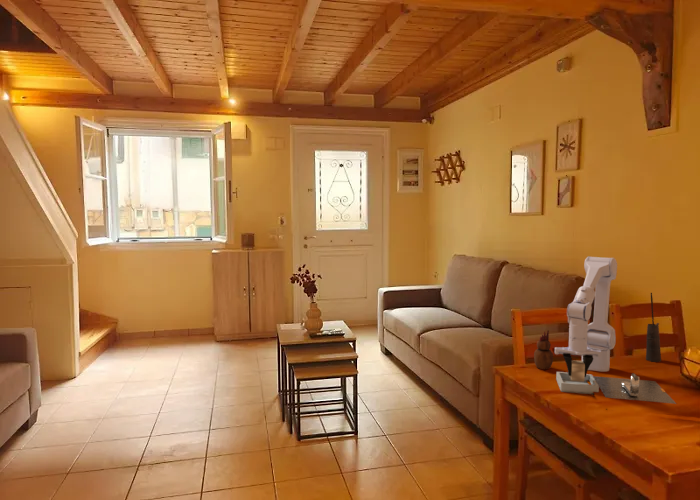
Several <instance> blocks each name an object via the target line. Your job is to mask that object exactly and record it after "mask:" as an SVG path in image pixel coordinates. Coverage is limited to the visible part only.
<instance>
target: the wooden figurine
mask: <svg viewBox="0 0 700 500" xmlns="http://www.w3.org/2000/svg"><path fill="white" fill-rule="evenodd" d="M549 332H550V330H547V332H546V331H544V332H543V334H541V336H540V337H539V340H537V341H536V349H535V350H534V353H533V360H534V364H535V367H536V368H538V369H540V370H549V369H550V368H551V367H552V365H553V363H554V354H553V352H552V350H551V342H550V340H549V339H550V338H549V335H550V334H549Z"/></svg>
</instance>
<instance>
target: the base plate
mask: <svg viewBox="0 0 700 500" xmlns="http://www.w3.org/2000/svg"><path fill="white" fill-rule="evenodd" d="M592 376H593V378H594V379H595V381H596V382H597V384H598V386H599V390H601V392H602V394H603V395H604V397H605V398H609V399H610V398H611V399H619V400H620V399H621V400H629V401H641V402H652V403H653V402H654V403H664V404H675V405H677V403H676V402H675V400H674V399H673V398H672V397H671V396H670V395H669V394H668V393H667V392H666V391H665V389H664V388H662V387H661V386H660V385H659V384H658V383H657V381H655V380H645V379H639V396H631V395H630V394H629V393H628V392H627V390H626V389H625V388H624V387H622V386H621V382H630V381H631V378H630V379H629V378H622V377H621V378H619V377H606V376H595V375H592Z"/></svg>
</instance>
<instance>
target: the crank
mask: <svg viewBox="0 0 700 500" xmlns="http://www.w3.org/2000/svg"><path fill="white" fill-rule="evenodd" d="M630 379H631V381H630V382H621V386H622V387H624V388H625V389H626V390H627V392H628V393H629V394H630V395H631V396H639V380H640V376H638V375H636V373H631V375H630Z"/></svg>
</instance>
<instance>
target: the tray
mask: <svg viewBox="0 0 700 500" xmlns="http://www.w3.org/2000/svg"><path fill="white" fill-rule="evenodd" d="M593 376H594V375H593V374H590V373H589V374H588V373H587V374H586V377H584V382H583V381H572V380H571V378H570V376H569V374H568V372H567V371H566V372H564V371H556V376H555V377H556V378H555V380H556V382H557V385H558V388H559V391H560V392H563V393H571V394H573V393H574V394H583V395H585V394H586V395H595V393H599V392H600V387H599V386H598V384H597V382H596V381H595V379H594V378H593ZM588 381H589V382H590V384H589V383H588Z"/></svg>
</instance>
